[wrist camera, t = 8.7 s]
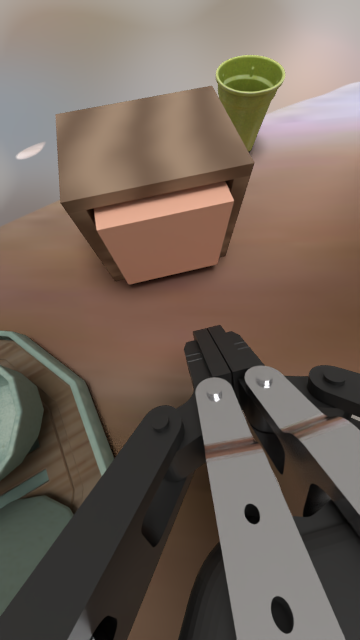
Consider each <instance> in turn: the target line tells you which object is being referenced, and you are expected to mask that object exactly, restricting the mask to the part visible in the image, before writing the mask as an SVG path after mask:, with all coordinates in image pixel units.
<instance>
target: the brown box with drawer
mask: <svg viewBox="0 0 360 640" xmlns="http://www.w3.org/2000/svg"><path fill="white" fill-rule="evenodd" d="M56 130H57V148H58V149H57V150H58V168H59V187H60V203H61V204H62V206H63V207H64V209H65V210H66V212H67V213H68V214H69V216H70V217H71V219H72V220H73V222H74V223H75V224H76V226H77V227H78V229H79V230H80V232H81V233H82V234H83V236H84V237H85V239H86V240H87V242H88V243H89V244H90V246H91V247H92V249H93V250H94V251H95V253H96V254H97V256H98V257H99V259H100V260H101V261H102V263H103V264H104V266H105V267H106V269H107V270H108V271H109V273H110V274H111V276H112V277H113V279H114V280H115V281H117V280H121V279H125V278H124V276H123V274H122V273H121V271H120V269H119V268H118V266H117V264H116V262H115V261H114V259H113V257H112V256H111V254H110V252H109V251H108V249H107V247H106V245H105V244H104V242H103V240H102V239H101V237H100V235H99V234H98V232H97V229H96V222H95V214H94V208H97V207H102V206H107V205H112V204H117V203H121V202H126V201H131V200H136V199H141V198H145V197H150V196H155V195H160V194H164V193H169V192H174V191H179V190H184V189H188V188H193V187H198V186H203V185H208V184H212V183H217V182H222V181H225V182H226V184H227V186H228V188H229V191H230V193H231V195H232V197H233V199H234V204H233V207H232V211H231V215H230V219H229V222H228V226H227V230H226V234H225V237H224V241H223V245H222V249H221V252H220V256H219V257H222V256H225V255H226V252H227V249H228V246H229V243H230V239H231V236H232V233H233V230H234V227H235V223H236V220H237V217H238V214H239V211H240V207H241V204H242V201H243V198H244V195H245V191H246V188H247V185H248V182H249V179H250V175H251V172H252V169H253V166H254V161H253V159H252V158H251V156H250V154H249V152H248V150H247V148H246V147H245V145H244V143H243V141H242V139H241V138H240V136H239V134H238V132H237V130H236V128H235V127H234V125H233V123H232V121H231V119H230V117H229V116H228V114H227V112H226V110H225V108H224V107H223V105H222V103H221V101H220V99H219V97H218V96H217V94H216V92H215V90H214V88H213V87H212V86H208V87H203V88H197V89H191V90H186V91H181V92H175V93H170V94H164V95H159V96H153V97H149V98H142V99H138V100H132V101H126V102H120V103H115V104H110V105H104V106H99V107H93V108H88V109H82V110H77V111H72V112H66V113H60V114H56Z"/></svg>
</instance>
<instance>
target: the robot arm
mask: <svg viewBox="0 0 360 640" xmlns="http://www.w3.org/2000/svg"><path fill="white" fill-rule="evenodd" d="M193 335H194V341H190V342H186V345H185V348H184V351H185V356H186V360H187V365H188V369H189V373H190V377H191V380H192V384H193V388H194V392H193V395H192V396H191V398H190V399H189V400H188V401H187V402H186V403H185V404H183V405H182V406H180V407H178V408H177V409H175V408H174V407H172V406H167V405H163V406H159V407H156V408H154V409H152V410H151V411H150V412H149V413H148V414H147V415H146V416H145V417H144V419H143V420H142V421H141V423H140V424H139V426H138V427H137V428H136V430H135V431H134V433H133V434H132V435H131V437H130V438H129V439H128V441H127V442H126V444H125V445H124V446H123V448H122V449H121V450H120V452H119V453H118V455H117V456H116V457H115V459H114V460H113V461H112V463H111V464H110V466H109V467H108V468H107V470H106V471H105V473H104V474H103V475H102V477H101V478H100V479H99V481H98V482H97V484H96V485H95V486H94V488H93V489H92V490H91V492H90V493H89V495H88V496H87V497H86V499H85V500H84V502H83V503H82V504H81V506H80V507H79V508H78V510H77V511H76V513H75V514H74V515H73V517H72V518H71V519H70V521H69V522H68V524H67V525H66V526H65V528H64V529H63V530H62V532H61V533H60V535H59V536H58V537H57V539H56V540H55V542H54V543H53V544H52V546H51V547H50V548H49V550H48V551H47V553H46V554H45V555H44V557H43V558H42V559H41V561H40V562H39V564H38V565H37V566H36V568H35V569H34V570H33V572H32V573H31V575H30V576H29V577H28V579H27V580H26V582H25V583H24V584H23V586H22V587H21V588H20V590H19V591H18V593H17V594H16V595H15V597H14V598H13V599H12V601H11V602H10V604H9V605H8V606H7V608H6V609H5V611H4V612H3V613H2V615H1V616H0V640H127V638H128V636H129V633H130V631H131V628H132V626H133V623H134V621H135V618H136V616H137V613H138V611H139V608H140V606H141V603H142V601H143V598H144V596H145V593H146V591H147V588H148V586H149V583H150V581H151V578H152V576H153V573H154V571H155V568H156V566H157V564H158V561H159V559H160V556H161V554H162V551H163V549H164V546H165V544H166V541H167V539H168V536H169V534H170V531H171V529H172V526H173V524H174V521H175V519H176V516H177V514H178V511H179V509H180V506H181V504H182V501H183V499H184V496H185V494H186V492H187V489H188V487H189V484H190V482H191V479H192V477H193V474H194V471H195V470H196V469H197V468H198V467H200V466H201V465H202V464H204V463H205V462H207V468H208V474H209V479H210V485H211V491H212V497H213V503H214V509H215V514H216V520H217V526H218V532H219V538H220V542H219V543H218V544H217V545H216V546H215V547H214V548H213V549H212V551H211V552H210V553H209V555H208V556H207V558H206V559H205V561H204V563H203V565H202V567H201V569H200V571H199V573H198V575H197V577H196V580H195V583H194V585H193V588H192V591H191V594H190V598H189V601H188V605H187V609H186V612H185V616H184V620H183V624H182V628H181V631H180V635H179V639H178V640H360V421H358V420H355V419H353V418H351V416H352V414H353V415H355V416H358V417H360V374H359V373H356V372H352V371H349V370H345V369H342V368H338V367H334V366H328V365H321V366H316V367H314V368H312V369H311V370H310V372H309V377H308V376H283V375H282V374H281V373H280V372H279V371H278V370H276V369H274V368H272V367H268V366H265V365H264V364H263V363H262V362H261V360H260V359H259V358H258V357H257V356H256V354H255V353H254V352H253V351H252V350H251V348H250V347H248V345H247V344H246V342H244V340H243V339H242V338H241V336H240V335H238V334H236V333H234V332H232V331H231V332H227V333H226V332H225V331H224V329H223V328H222V327H221V325H217V326H213V327H209V328H207V329H206V328H205V329H201V330H197V331H193ZM242 410H243V411H244V413H245V415H246V420H247V422H246V420H245V417H244V415H243V412H242ZM252 436H253V437H252ZM253 438H254V439H255V440H254V439H253ZM272 470H273V471H272ZM273 472H274V474H275V476H276V477H277V480H278V482H279V484H280V487H281V490H280V488H279V485H278V483H277V481H276V478H275V476H274V474H273ZM281 491H282V492H281ZM290 511H291V513H292V515H293V516H292V515H291V513H290Z"/></svg>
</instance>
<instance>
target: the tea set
mask: <svg viewBox="0 0 360 640" xmlns="http://www.w3.org/2000/svg"><path fill="white" fill-rule="evenodd" d="M113 460H114V457H113V454H112V451H111V449H110V446H109V443H108V441H107V438H106V435H105V433H104V430H103V427H102V425H101V422H100V419H99V417H98V414H97V411H96V409H95V406H94V403H93V401H92V398H91V395H90V393H89V390H88V387H87V385H86V383H85V381H84V380H83V379H81V378H80V377H79V376H78V375H76V374H75V373H74V372H72V371H71V370H70V369H68V368H67V367H66V366H65V365H63V364H62V363H61V362H59V361H58V360H57V359H56V358H54V357H53V356H52V355H50V354H49V353H48V352H46V351H45V350H44V349H43V348H41V347H40V346H39V345H37V344H36V343H35V342H34V341H32V340H31V339H30V338H28V337H27V336H26V335H23V334H19V333H16V332H10V331H0V616H1V615H2V613H3V612H4V611H5V609H6V608H7V606H8V605H9V604H10V602H11V601H12V599H13V598H14V597H15V595H16V594H17V593H18V591H19V590H20V588H21V587H22V586H23V584H24V583H25V582H26V580H27V579H28V577H29V576H30V575H31V573H32V572H33V570H34V569H35V568H36V566H37V565H38V564H39V562H40V561H41V559H42V558H43V557H44V555H45V554H46V553H47V551H48V550H49V548H50V547H51V546H52V544H53V543H54V542H55V540H56V539H57V537H58V536H59V535H60V533H61V532H62V530H63V529H64V528H65V526H66V525H67V524H68V522H69V521H70V519H71V518H72V517H73V515H74V514H75V513H76V511H77V510H78V508H79V507H80V506H81V504H82V503H83V502H84V500H85V499H86V497H87V496H88V495H89V493H90V492H91V490H92V489H93V488H94V486H95V485H96V484H97V482H98V481H99V479H100V478H101V477H102V475H103V474H104V473H105V471H106V470H107V468H108V467H109V466H110V464H111V463H112V461H113Z"/></svg>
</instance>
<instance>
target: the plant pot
mask: <svg viewBox="0 0 360 640" xmlns="http://www.w3.org/2000/svg"><path fill="white" fill-rule="evenodd" d="M284 78H285V70H284V68H283V67H282V66H281V65H280V64H279V63H278V62H276V61H274V60H272V59H270V58H267V57H263V56H257V55H244V56H238V57H234V58H231V59H228V60H227V61H225V62H223V63H222V64H221V65H220V66H219V67H218V69H217V71H216V80H217V83H218V94H219V99H220V101H221V103H222V105H223V107H224V108H225V110H226V112H227V114H228V116H229V117H230V119H231V121H232V123H233V125H234V127H235V128H236V130H237V132H238V134H239V136H240V138H241V139H242V141H243V143H244V145H245V147H246V148H247V150H248V151H251V149H252V147H253V144H254V142H255V139H256V137H257V134H258V131H259V129H260V127H261V124H262V122H263V119H264V117H265V114H266V112H267V109H268V107H269V105H270V102H271V100H272V99H273V97H274V96H275V94H276V91H277V89H278V88H279V87H280V86H281V84H282V83H283V81H284Z"/></svg>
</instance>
